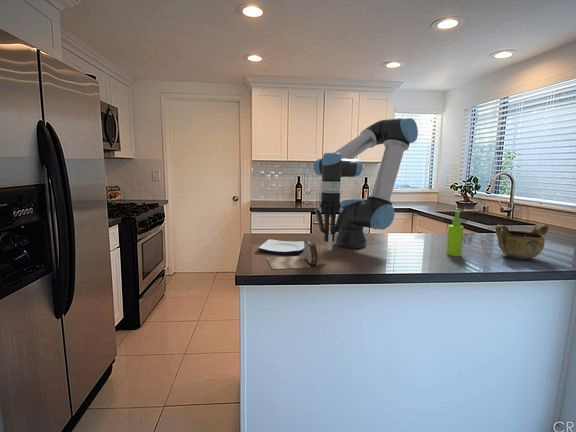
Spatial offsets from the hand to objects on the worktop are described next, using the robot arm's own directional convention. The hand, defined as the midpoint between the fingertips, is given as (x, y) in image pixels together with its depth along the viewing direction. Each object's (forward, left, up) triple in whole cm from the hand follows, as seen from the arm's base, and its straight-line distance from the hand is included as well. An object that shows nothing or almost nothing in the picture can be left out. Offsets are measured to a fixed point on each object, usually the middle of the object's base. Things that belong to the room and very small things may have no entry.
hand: (328, 249), depth 138 cm
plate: (+15, -22, -6) cm, 27 cm away
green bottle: (-60, -1, -5) cm, 60 cm away
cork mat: (+17, 0, -5) cm, 18 cm away
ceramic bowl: (-85, +9, -5) cm, 86 cm away
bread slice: (+8, 0, -5) cm, 10 cm away
